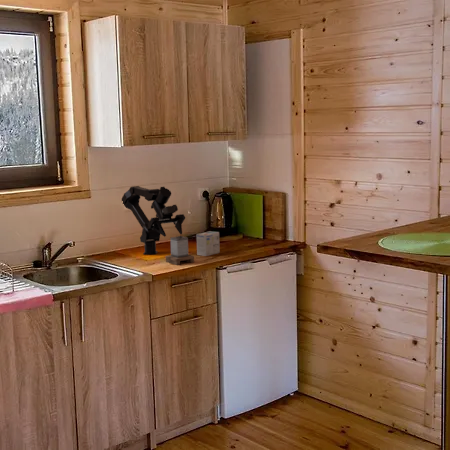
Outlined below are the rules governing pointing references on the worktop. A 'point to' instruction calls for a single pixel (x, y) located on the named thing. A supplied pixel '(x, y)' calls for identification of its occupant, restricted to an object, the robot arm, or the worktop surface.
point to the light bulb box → (208, 243)
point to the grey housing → (179, 246)
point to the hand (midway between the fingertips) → (173, 234)
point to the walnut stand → (179, 259)
